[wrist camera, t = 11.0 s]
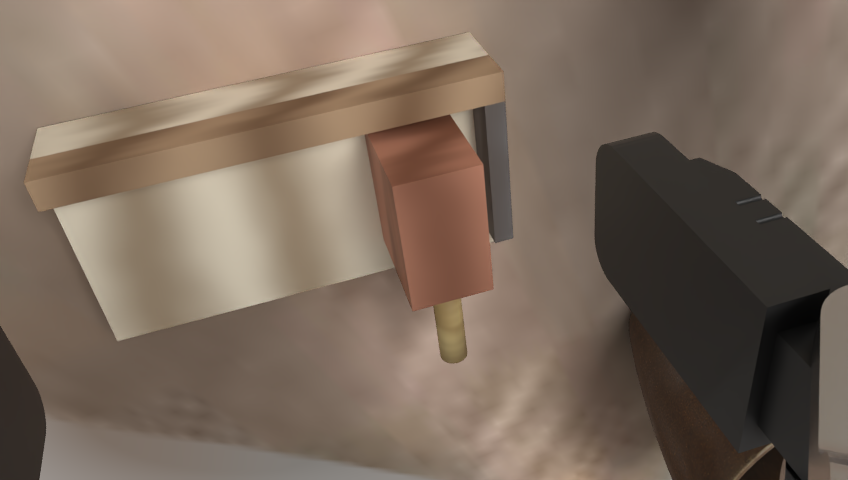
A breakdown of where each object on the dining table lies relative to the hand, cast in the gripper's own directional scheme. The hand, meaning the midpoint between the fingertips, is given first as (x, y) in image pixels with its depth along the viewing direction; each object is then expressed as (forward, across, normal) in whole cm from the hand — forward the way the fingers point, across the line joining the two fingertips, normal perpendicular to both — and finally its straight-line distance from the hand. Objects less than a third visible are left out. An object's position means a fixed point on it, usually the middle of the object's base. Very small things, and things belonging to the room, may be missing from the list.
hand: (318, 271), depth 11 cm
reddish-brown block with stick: (+25, -6, +18) cm, 31 cm away
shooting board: (+28, 0, +15) cm, 32 cm away
